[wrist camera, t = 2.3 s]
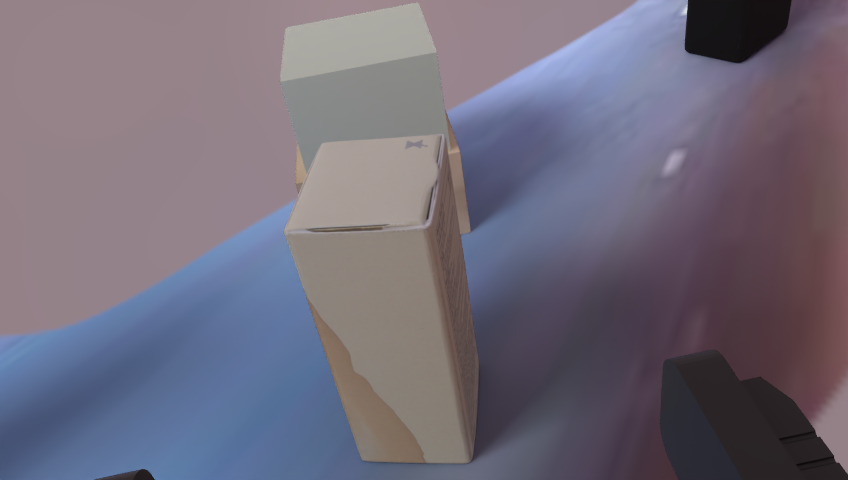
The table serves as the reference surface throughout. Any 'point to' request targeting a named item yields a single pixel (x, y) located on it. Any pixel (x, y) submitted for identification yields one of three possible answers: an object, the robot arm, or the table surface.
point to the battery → (733, 26)
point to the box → (391, 295)
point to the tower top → (362, 79)
